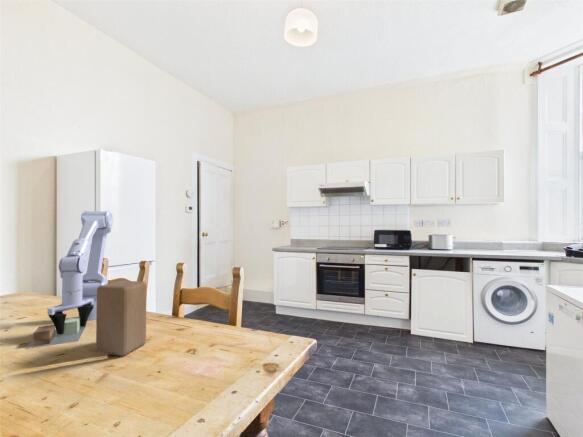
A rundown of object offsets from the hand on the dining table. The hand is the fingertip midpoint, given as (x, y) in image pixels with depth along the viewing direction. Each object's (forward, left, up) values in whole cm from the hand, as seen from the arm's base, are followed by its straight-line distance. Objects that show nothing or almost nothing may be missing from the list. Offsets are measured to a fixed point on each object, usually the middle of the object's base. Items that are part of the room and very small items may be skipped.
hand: (71, 330), depth 102 cm
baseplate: (+3, +3, -2) cm, 5 cm away
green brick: (0, 0, 0) cm, 0 cm away
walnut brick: (+6, +7, 0) cm, 9 cm away
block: (-16, +21, -2) cm, 27 cm away
